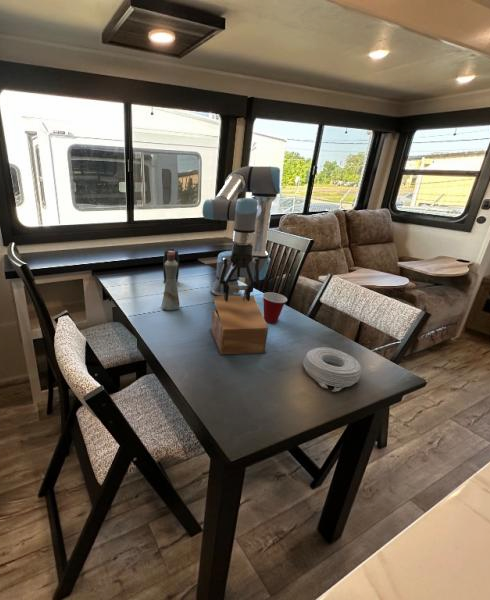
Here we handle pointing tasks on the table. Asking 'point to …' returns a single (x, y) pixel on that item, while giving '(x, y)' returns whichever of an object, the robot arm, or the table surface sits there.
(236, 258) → the robot arm
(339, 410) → the table surface
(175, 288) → the bottle
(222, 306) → the lid
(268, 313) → the plastic cup
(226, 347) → the chest
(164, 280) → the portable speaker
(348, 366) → the cable
